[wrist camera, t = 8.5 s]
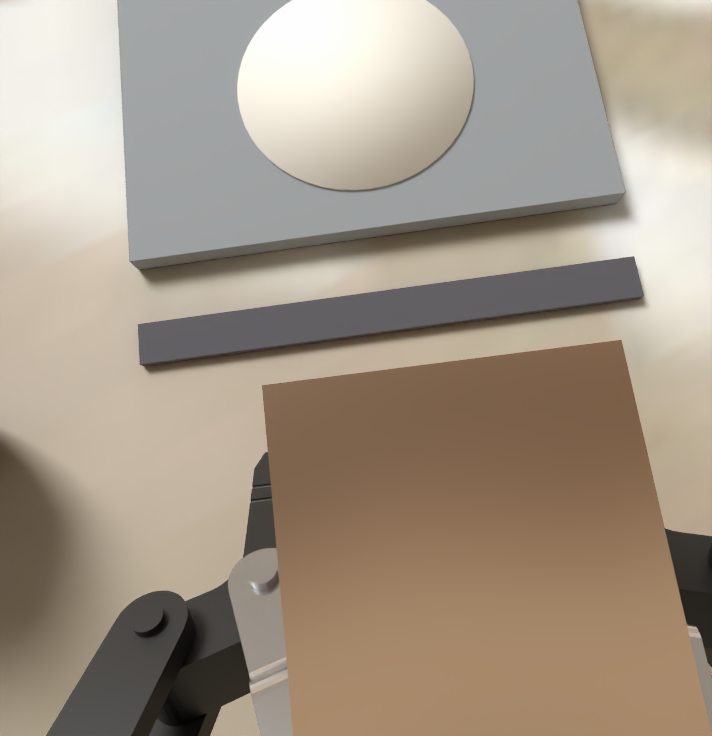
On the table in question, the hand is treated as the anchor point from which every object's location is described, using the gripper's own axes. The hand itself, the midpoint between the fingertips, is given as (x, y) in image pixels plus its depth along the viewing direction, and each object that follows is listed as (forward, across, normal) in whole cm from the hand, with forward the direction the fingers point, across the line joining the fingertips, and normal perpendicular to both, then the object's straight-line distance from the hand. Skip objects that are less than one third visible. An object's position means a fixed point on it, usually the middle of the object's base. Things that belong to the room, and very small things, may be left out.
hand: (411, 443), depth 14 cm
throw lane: (+13, 0, -4) cm, 14 cm away
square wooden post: (+2, 0, +4) cm, 5 cm away
